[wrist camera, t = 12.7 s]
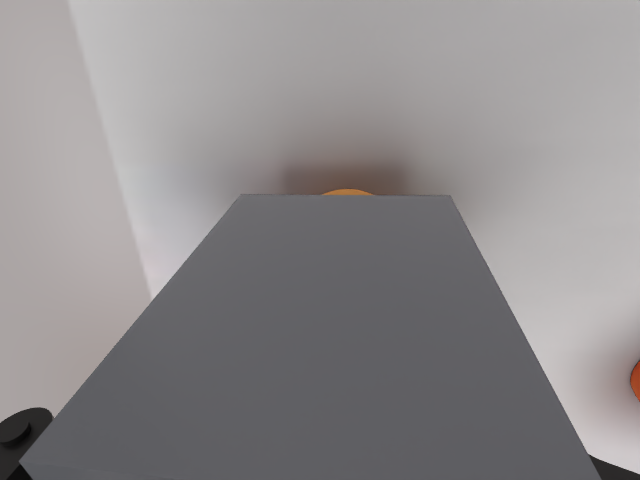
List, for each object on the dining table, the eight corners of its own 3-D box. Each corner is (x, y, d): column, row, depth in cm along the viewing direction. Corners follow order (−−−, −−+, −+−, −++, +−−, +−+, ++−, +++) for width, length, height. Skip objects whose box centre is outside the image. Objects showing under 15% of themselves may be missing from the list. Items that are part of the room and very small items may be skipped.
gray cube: (241, 194, 12) (18, 460, 4) (450, 195, 11) (627, 528, 4) (264, 342, 15) (160, 643, 8) (427, 352, 14) (493, 700, 7)
